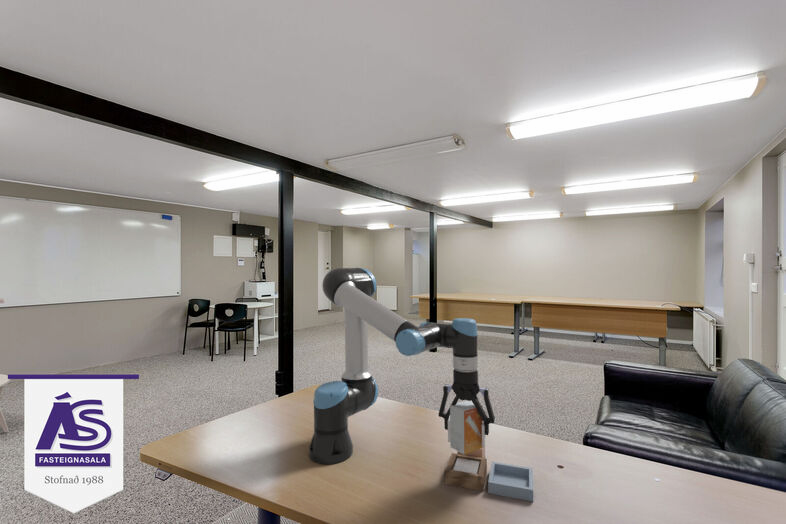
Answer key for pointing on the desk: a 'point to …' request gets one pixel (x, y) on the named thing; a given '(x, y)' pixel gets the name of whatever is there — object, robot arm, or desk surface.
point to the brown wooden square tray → (466, 473)
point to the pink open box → (476, 453)
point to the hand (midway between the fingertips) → (466, 442)
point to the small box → (465, 427)
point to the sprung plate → (467, 466)
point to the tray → (511, 481)
